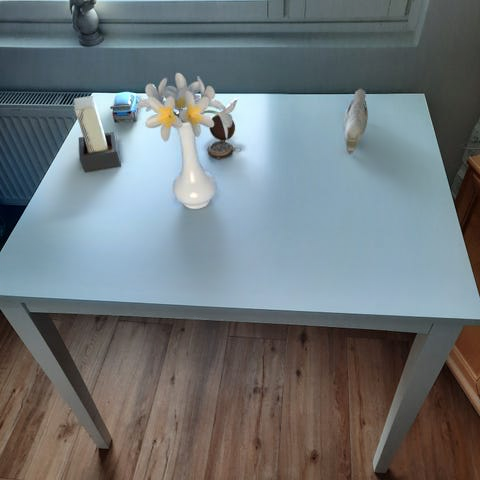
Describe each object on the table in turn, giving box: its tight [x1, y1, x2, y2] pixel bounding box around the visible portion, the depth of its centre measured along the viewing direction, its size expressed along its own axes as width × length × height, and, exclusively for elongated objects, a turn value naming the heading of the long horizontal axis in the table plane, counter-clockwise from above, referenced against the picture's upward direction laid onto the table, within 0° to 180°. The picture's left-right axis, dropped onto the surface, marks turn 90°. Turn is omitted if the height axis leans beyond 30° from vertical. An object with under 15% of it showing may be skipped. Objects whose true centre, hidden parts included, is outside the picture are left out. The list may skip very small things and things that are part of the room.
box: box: [73, 95, 109, 154], centre depth 106 cm, size 5×4×13 cm
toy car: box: [109, 91, 140, 124], centre depth 121 cm, size 6×12×6 cm, turn 2°
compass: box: [206, 114, 242, 160], centre depth 109 cm, size 8×8×7 cm
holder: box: [78, 131, 122, 174], centre depth 110 cm, size 8×8×4 cm
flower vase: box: [136, 72, 238, 210], centre depth 92 cm, size 13×18×25 cm
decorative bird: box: [342, 88, 369, 155], centre depth 110 cm, size 5×16×8 cm, turn 166°
